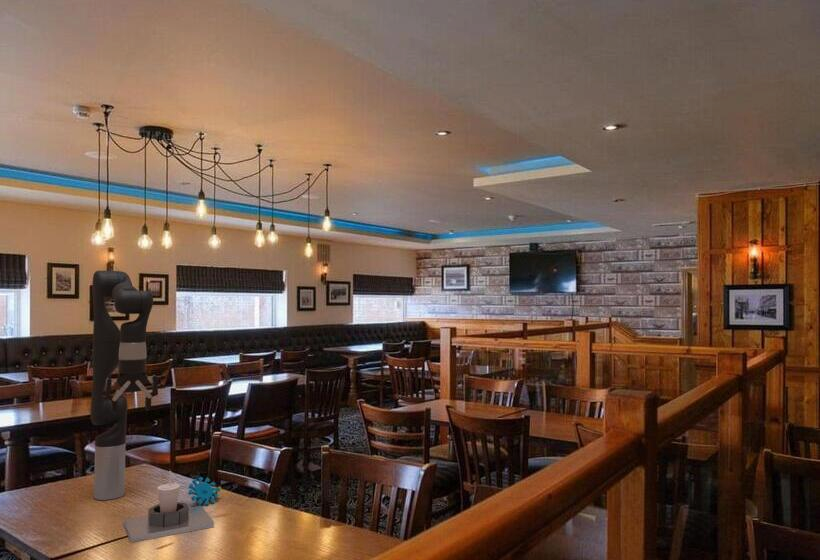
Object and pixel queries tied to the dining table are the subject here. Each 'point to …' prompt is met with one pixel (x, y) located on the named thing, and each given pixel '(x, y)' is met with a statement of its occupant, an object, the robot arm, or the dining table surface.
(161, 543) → the dining table surface
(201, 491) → the gear
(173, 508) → the smoothie
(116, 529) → the dining table surface
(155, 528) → the hub plate
